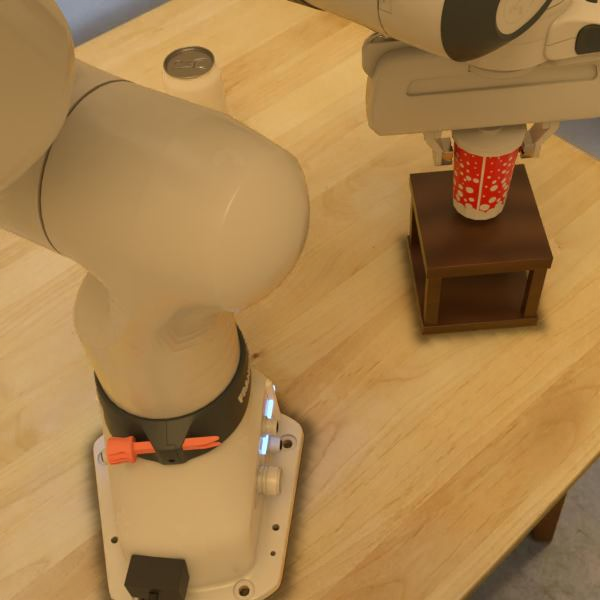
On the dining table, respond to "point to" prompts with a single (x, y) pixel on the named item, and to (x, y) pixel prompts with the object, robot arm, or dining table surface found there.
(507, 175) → the beverage cup
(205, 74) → the can
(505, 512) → the dining table surface
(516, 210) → the shelf
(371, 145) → the dining table surface
